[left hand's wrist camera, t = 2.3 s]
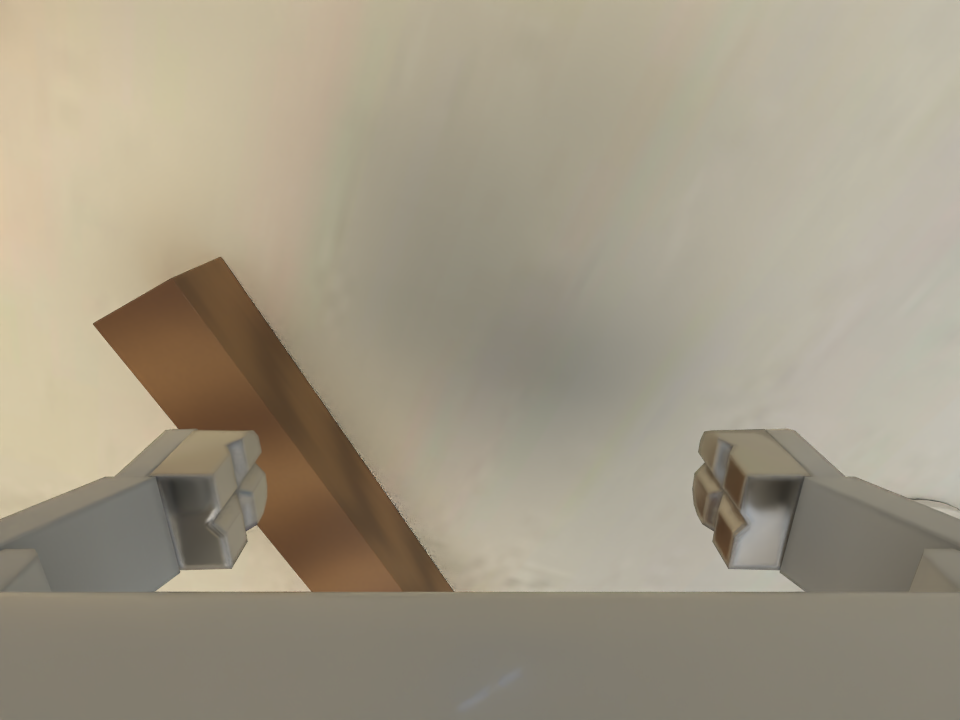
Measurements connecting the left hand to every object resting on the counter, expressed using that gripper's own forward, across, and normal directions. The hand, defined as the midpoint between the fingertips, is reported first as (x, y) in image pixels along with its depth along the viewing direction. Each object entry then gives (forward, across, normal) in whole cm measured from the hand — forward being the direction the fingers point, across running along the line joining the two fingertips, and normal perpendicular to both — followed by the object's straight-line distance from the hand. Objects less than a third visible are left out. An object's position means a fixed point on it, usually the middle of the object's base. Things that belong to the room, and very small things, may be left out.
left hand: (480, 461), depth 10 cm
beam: (+26, -6, -27) cm, 37 cm away
